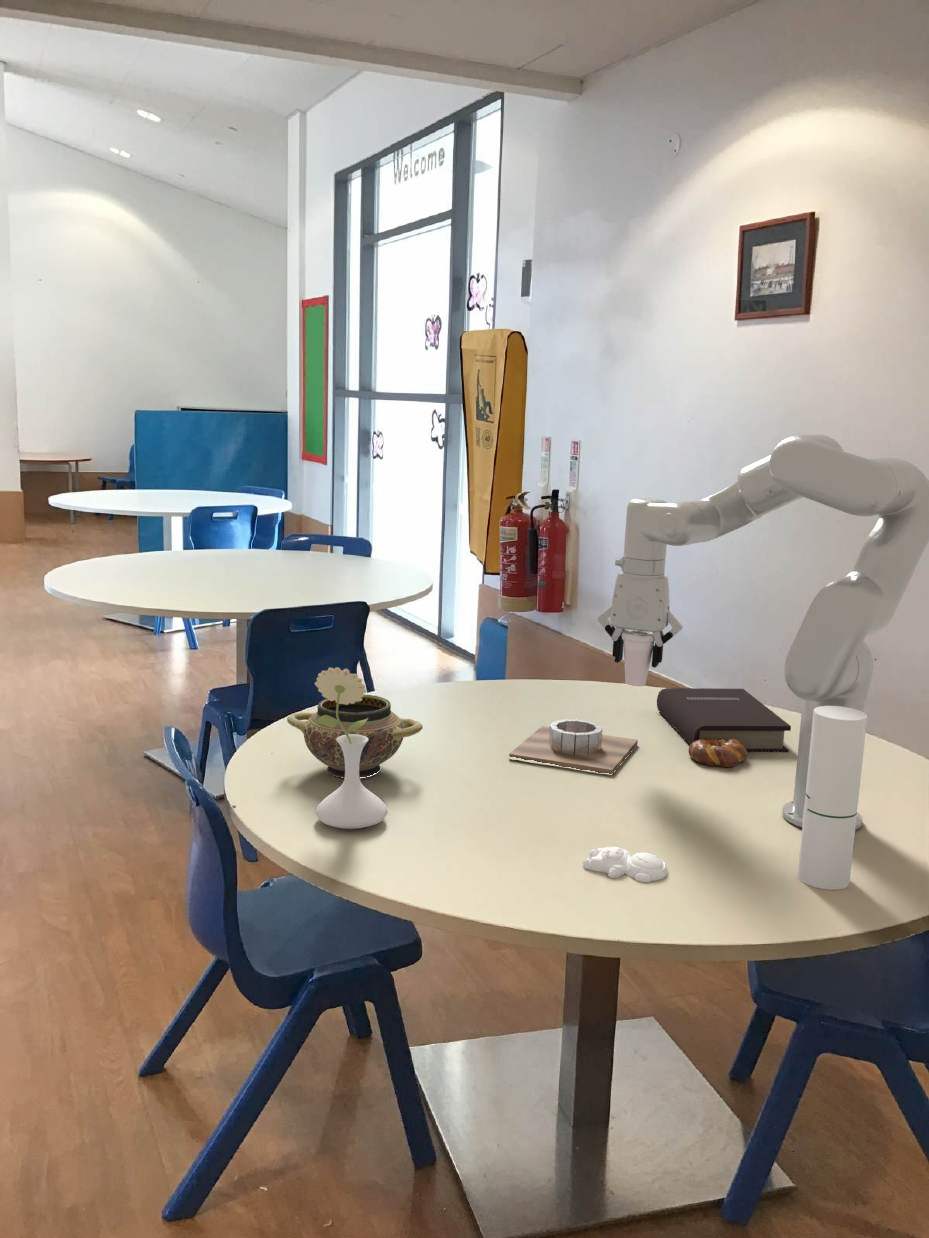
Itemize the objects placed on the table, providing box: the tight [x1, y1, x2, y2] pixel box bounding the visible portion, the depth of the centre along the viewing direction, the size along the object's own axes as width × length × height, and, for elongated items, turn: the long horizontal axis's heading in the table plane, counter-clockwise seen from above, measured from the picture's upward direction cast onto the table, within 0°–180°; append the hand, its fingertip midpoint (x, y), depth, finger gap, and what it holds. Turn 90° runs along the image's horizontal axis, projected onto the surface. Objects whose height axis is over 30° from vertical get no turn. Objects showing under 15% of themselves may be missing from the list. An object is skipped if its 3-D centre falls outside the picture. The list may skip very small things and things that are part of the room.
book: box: [656, 687, 792, 753], centre depth 226 cm, size 28×20×6 cm
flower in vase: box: [314, 666, 388, 830], centre depth 170 cm, size 13×11×25 cm
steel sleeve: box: [549, 718, 603, 755], centre depth 209 cm, size 10×10×4 cm
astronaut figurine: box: [582, 846, 668, 883], centre depth 157 cm, size 9×12×3 cm
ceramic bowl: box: [286, 694, 423, 778], centre depth 193 cm, size 24×18×15 cm
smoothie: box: [622, 629, 655, 687], centre depth 198 cm, size 6×6×14 cm
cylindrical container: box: [797, 706, 868, 891], centre depth 153 cm, size 7×7×25 cm
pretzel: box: [688, 738, 748, 768], centre depth 208 cm, size 12×11×4 cm
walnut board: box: [508, 725, 639, 774], centre depth 209 cm, size 20×20×1 cm
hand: (636, 662), depth 198 cm, fingers closed on smoothie, 6 cm apart
